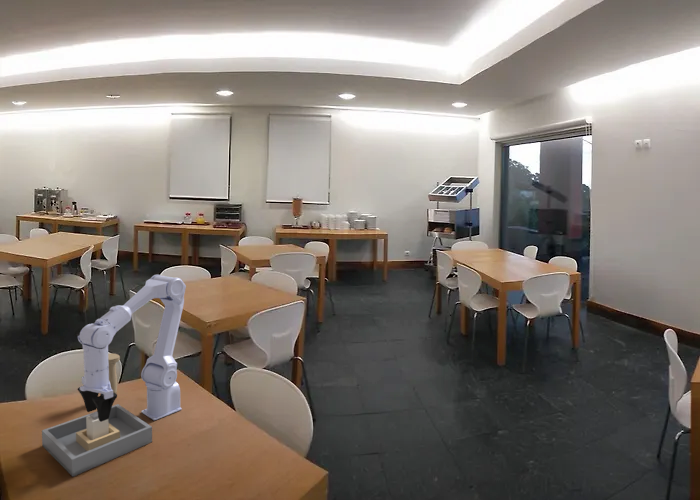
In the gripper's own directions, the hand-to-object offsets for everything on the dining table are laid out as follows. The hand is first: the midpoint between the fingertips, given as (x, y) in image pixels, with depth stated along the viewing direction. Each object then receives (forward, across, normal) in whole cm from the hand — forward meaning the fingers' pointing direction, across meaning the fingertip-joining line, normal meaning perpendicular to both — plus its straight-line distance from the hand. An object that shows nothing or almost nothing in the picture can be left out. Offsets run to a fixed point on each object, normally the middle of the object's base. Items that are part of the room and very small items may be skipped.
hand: (97, 415), depth 116 cm
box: (+8, 0, 0) cm, 8 cm away
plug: (+7, 0, 0) cm, 7 cm away
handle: (+9, -24, +14) cm, 29 cm away
